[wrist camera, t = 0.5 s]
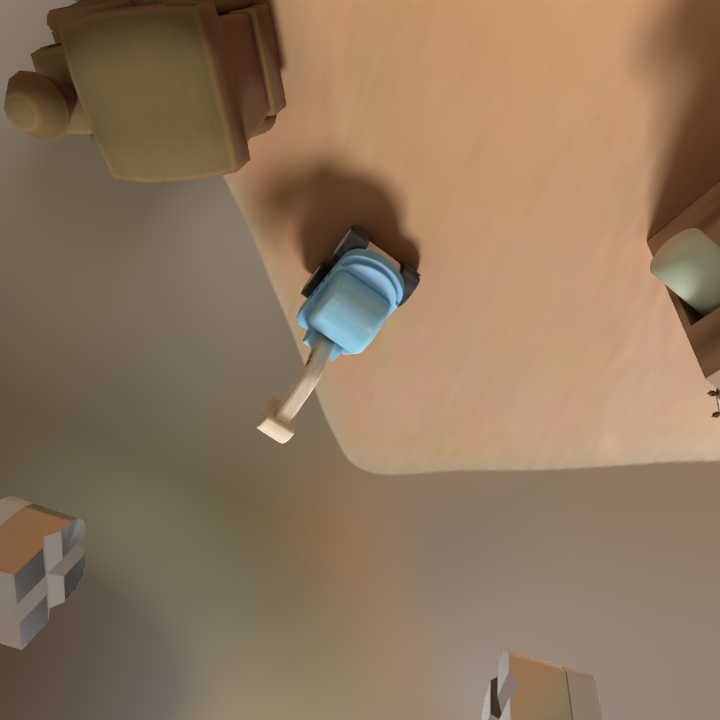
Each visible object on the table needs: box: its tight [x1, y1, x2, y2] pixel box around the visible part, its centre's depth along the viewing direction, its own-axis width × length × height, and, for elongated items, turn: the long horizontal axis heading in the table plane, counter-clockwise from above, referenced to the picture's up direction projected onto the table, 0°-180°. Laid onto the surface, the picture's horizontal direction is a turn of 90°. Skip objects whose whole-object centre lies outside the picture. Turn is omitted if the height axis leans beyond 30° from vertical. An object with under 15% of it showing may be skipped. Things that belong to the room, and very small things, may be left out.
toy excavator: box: [256, 226, 421, 443], centre depth 55 cm, size 9×17×17 cm, turn 145°
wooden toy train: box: [4, 0, 287, 182], centre depth 44 cm, size 20×11×17 cm, turn 98°
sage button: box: [650, 228, 720, 317], centre depth 41 cm, size 6×4×4 cm, turn 56°
